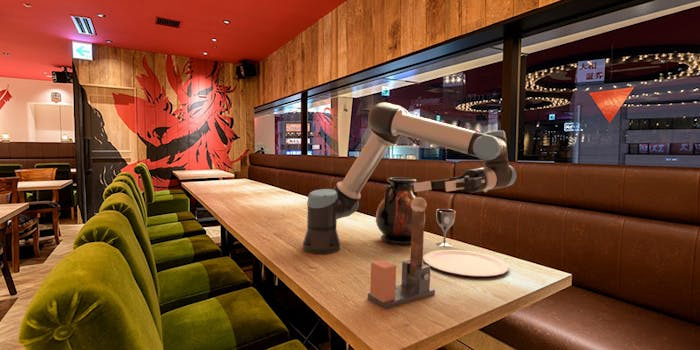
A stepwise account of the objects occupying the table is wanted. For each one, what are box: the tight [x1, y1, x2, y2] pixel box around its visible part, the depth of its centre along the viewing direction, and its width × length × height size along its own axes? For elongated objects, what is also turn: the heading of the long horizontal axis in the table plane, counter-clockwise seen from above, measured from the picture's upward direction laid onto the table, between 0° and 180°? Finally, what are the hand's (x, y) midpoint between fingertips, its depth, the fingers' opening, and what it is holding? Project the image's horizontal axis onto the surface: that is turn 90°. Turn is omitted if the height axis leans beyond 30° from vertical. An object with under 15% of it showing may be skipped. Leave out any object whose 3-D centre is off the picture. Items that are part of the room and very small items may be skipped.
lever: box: [409, 196, 428, 278], centre depth 101 cm, size 4×4×23 cm
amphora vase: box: [375, 176, 426, 247], centre depth 157 cm, size 22×22×28 cm
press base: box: [367, 259, 436, 310], centre depth 99 cm, size 18×9×8 cm, turn 124°
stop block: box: [369, 259, 397, 302], centre depth 95 cm, size 4×6×9 cm
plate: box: [422, 249, 510, 278], centre depth 129 cm, size 29×29×2 cm
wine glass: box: [435, 208, 456, 248], centre depth 154 cm, size 8×8×15 cm
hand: (429, 187), depth 106 cm, fingers open, 13 cm apart
